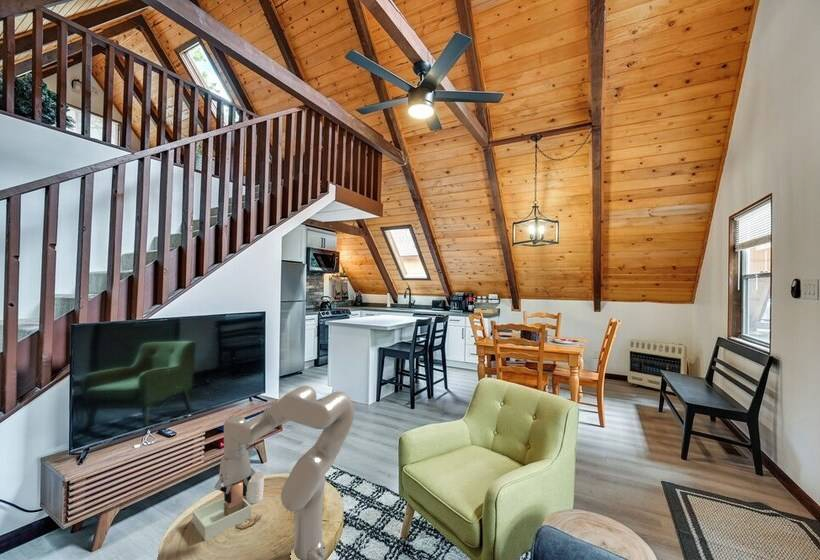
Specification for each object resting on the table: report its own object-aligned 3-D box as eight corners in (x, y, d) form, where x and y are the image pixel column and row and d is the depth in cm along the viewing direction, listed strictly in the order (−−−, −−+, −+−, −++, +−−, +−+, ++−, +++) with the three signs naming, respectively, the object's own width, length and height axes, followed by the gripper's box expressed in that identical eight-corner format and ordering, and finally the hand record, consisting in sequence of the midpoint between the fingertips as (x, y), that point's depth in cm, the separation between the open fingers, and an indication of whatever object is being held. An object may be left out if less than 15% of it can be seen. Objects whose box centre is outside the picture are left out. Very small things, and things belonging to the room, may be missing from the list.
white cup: (255, 506, 154) (255, 483, 154) (240, 502, 157) (240, 479, 156) (268, 495, 162) (268, 473, 161) (253, 491, 164) (254, 470, 164)
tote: (250, 517, 147) (251, 505, 147) (204, 540, 135) (205, 527, 134) (237, 503, 156) (237, 491, 156) (192, 523, 143) (192, 511, 143)
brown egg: (245, 499, 137) (245, 481, 137) (232, 506, 133) (232, 488, 133) (239, 494, 140) (239, 477, 140) (226, 501, 137) (225, 482, 136)
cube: (241, 514, 148) (241, 502, 148) (228, 520, 145) (228, 508, 145) (236, 508, 152) (236, 496, 152) (223, 514, 148) (223, 502, 148)
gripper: (253, 440, 145) (253, 484, 146) (207, 456, 133) (207, 505, 133) (262, 446, 140) (262, 492, 141) (215, 463, 127) (215, 514, 128)
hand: (235, 498), depth 137 cm, fingers closed on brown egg, 5 cm apart
